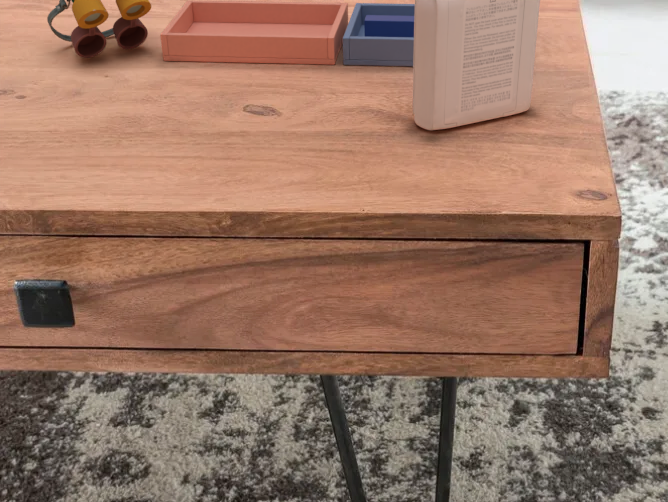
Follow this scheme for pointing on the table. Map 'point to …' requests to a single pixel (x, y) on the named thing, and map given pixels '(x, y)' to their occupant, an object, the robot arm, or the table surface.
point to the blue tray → (377, 38)
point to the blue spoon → (389, 26)
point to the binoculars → (93, 14)
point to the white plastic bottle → (472, 60)
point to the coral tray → (256, 32)
